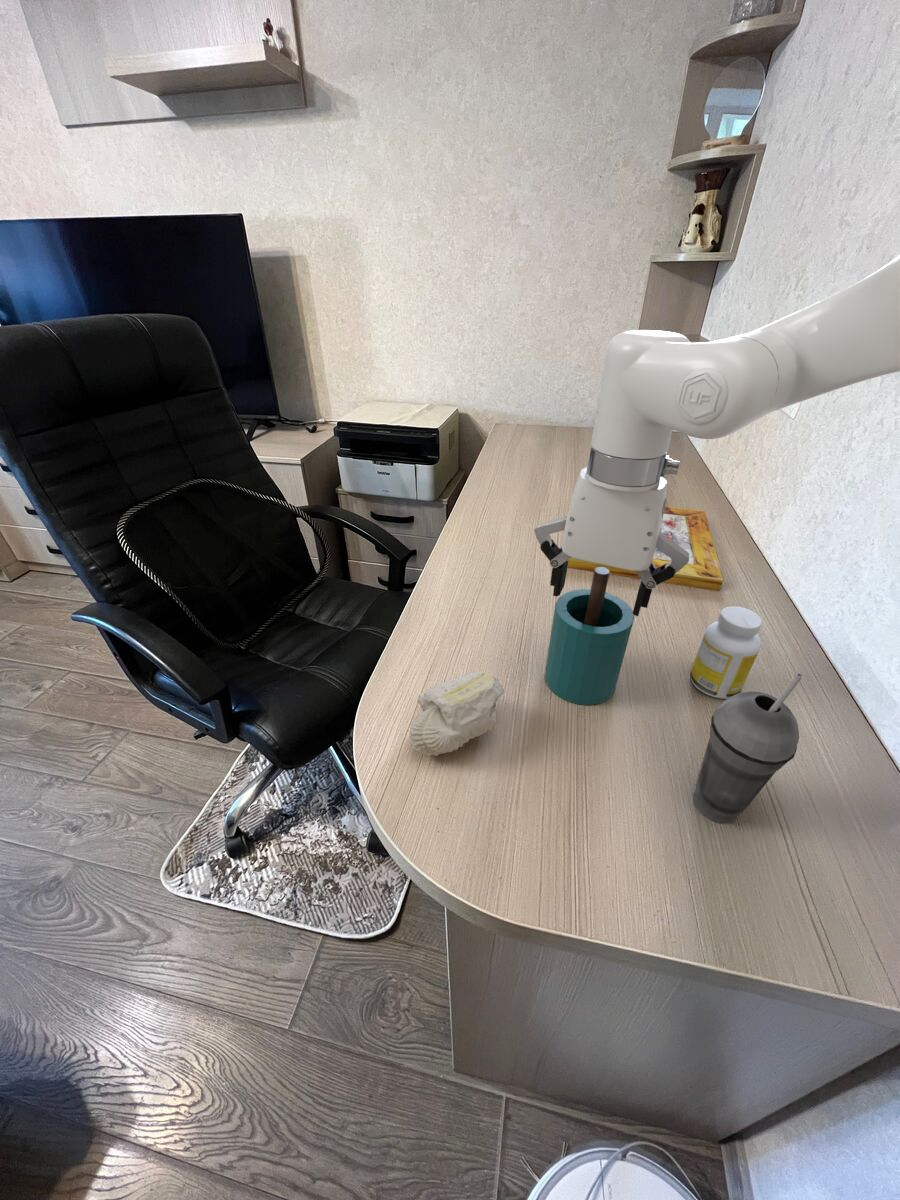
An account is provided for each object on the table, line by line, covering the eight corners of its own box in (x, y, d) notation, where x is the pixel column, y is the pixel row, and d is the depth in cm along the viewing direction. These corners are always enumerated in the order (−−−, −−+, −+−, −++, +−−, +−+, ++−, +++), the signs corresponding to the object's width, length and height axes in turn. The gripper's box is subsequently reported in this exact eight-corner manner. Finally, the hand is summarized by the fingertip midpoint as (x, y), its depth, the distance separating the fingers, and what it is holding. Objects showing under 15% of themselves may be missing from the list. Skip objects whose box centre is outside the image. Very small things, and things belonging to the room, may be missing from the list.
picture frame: (705, 511, 111) (723, 580, 87) (702, 520, 112) (719, 590, 88) (580, 496, 117) (566, 557, 94) (579, 504, 118) (565, 567, 95)
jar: (620, 668, 72) (639, 599, 65) (608, 714, 64) (627, 642, 58) (555, 650, 75) (565, 582, 68) (536, 691, 68) (546, 621, 61)
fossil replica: (392, 749, 60) (465, 789, 56) (389, 707, 54) (470, 748, 51) (442, 682, 68) (509, 714, 65) (444, 639, 63) (517, 671, 59)
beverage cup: (715, 767, 58) (781, 631, 46) (769, 822, 52) (859, 683, 41) (665, 787, 56) (721, 649, 44) (715, 846, 50) (794, 706, 39)
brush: (601, 669, 70) (625, 565, 61) (594, 692, 67) (619, 585, 57) (567, 660, 72) (586, 557, 62) (558, 681, 68) (577, 575, 59)
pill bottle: (742, 679, 70) (773, 611, 63) (736, 708, 65) (769, 639, 59) (693, 662, 73) (717, 596, 66) (684, 689, 68) (709, 621, 62)
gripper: (715, 466, 52) (673, 601, 62) (553, 444, 58) (537, 570, 68) (713, 491, 46) (667, 635, 56) (534, 464, 52) (520, 599, 62)
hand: (596, 600), depth 62 cm, fingers open, 9 cm apart
